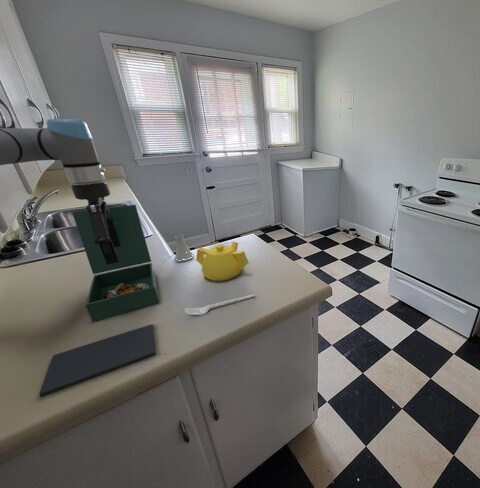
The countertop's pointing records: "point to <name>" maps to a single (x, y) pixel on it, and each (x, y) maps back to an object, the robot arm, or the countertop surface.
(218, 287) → the countertop surface
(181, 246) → the flask
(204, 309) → the white spoon
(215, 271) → the teapot
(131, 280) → the box
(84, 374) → the trivet mat
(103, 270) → the box lid
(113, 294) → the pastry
